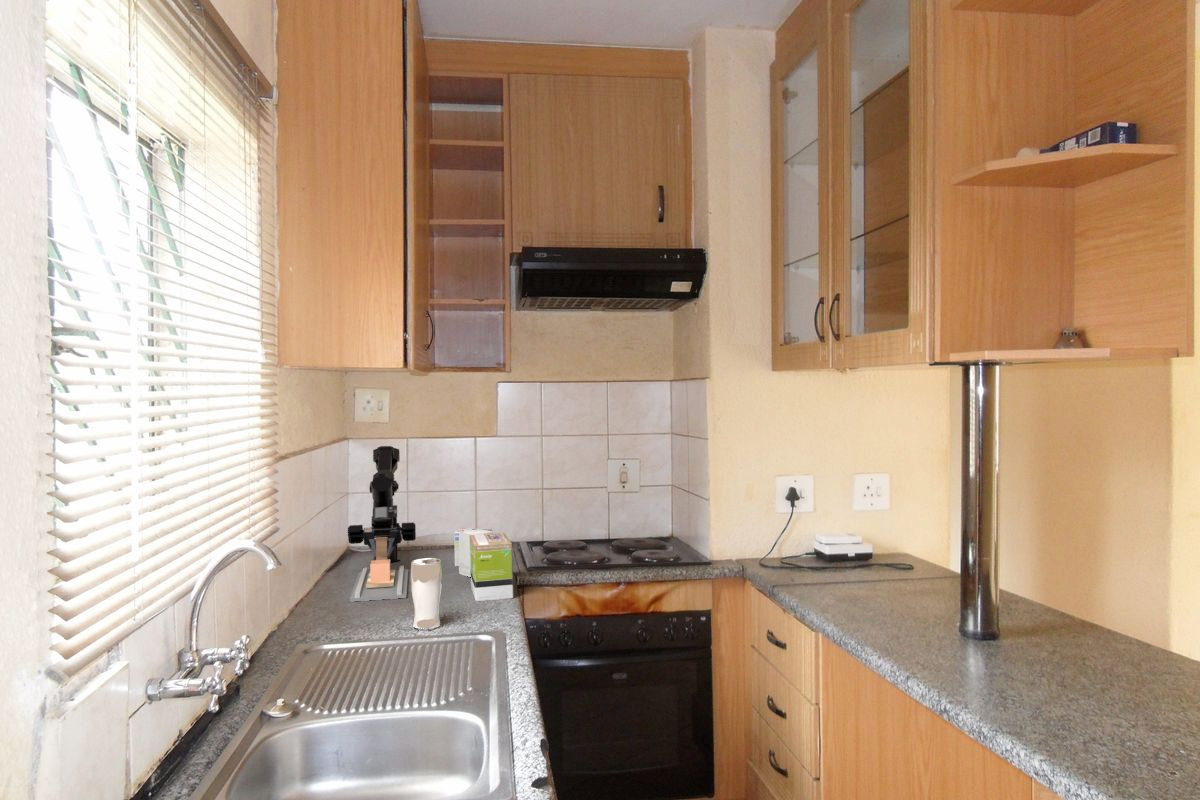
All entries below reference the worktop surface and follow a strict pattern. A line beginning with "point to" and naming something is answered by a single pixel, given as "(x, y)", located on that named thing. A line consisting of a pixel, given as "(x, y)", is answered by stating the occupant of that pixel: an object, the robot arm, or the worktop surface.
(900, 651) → the worktop surface
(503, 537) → the tea box
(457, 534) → the light bulb box
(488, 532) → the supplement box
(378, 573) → the terracotta cube
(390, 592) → the guide board
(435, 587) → the beer glass
